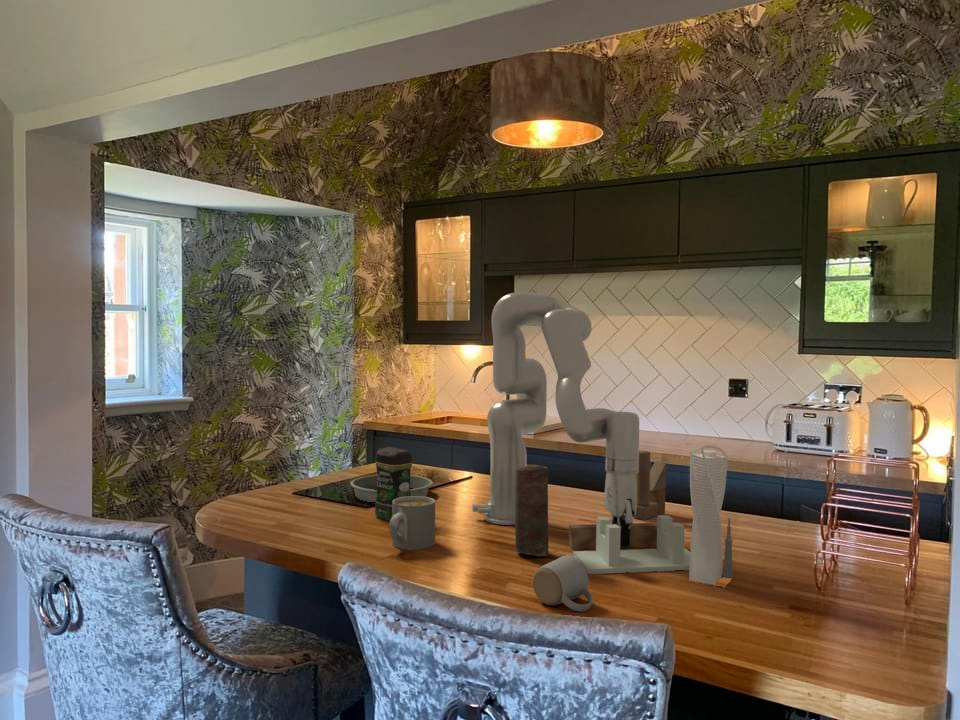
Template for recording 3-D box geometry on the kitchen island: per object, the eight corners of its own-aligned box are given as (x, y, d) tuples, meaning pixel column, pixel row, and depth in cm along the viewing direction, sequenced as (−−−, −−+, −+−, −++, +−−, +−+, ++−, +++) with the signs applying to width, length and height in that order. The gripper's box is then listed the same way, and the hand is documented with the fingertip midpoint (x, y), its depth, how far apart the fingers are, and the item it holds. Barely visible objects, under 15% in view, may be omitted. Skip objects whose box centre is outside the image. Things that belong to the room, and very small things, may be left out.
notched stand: (588, 573, 148) (589, 530, 147) (572, 555, 159) (573, 515, 159) (708, 569, 151) (709, 527, 151) (684, 552, 163) (685, 512, 163)
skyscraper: (723, 591, 139) (726, 448, 138) (681, 583, 143) (684, 444, 142) (733, 579, 146) (736, 442, 145) (693, 572, 150) (696, 439, 149)
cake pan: (429, 506, 204) (429, 491, 204) (342, 505, 204) (342, 489, 204) (435, 488, 229) (435, 474, 228) (358, 487, 229) (358, 472, 229)
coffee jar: (369, 517, 191) (370, 447, 190) (392, 511, 197) (392, 444, 196) (394, 523, 185) (394, 451, 184) (416, 518, 190) (417, 448, 190)
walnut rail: (571, 549, 164) (572, 527, 164) (568, 546, 167) (569, 525, 166) (671, 546, 168) (672, 525, 167) (667, 543, 170) (668, 522, 170)
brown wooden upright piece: (665, 514, 198) (666, 449, 197) (644, 521, 190) (645, 453, 189) (653, 511, 200) (655, 447, 200) (632, 518, 193) (633, 451, 192)
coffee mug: (414, 534, 175) (414, 494, 174) (443, 543, 168) (444, 500, 168) (371, 546, 165) (372, 503, 164) (401, 556, 158) (401, 511, 158)
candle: (525, 561, 155) (526, 469, 154) (508, 552, 162) (509, 463, 161) (554, 556, 159) (556, 466, 158) (537, 547, 165) (538, 461, 164)
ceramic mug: (528, 600, 132) (530, 559, 132) (556, 589, 138) (557, 550, 138) (575, 618, 125) (576, 575, 125) (602, 606, 131) (603, 564, 130)
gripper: (596, 459, 174) (594, 534, 175) (617, 472, 158) (616, 555, 159) (625, 459, 175) (624, 534, 176) (650, 471, 159) (648, 554, 160)
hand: (620, 543), depth 167 cm, fingers closed on walnut rail, 2 cm apart
